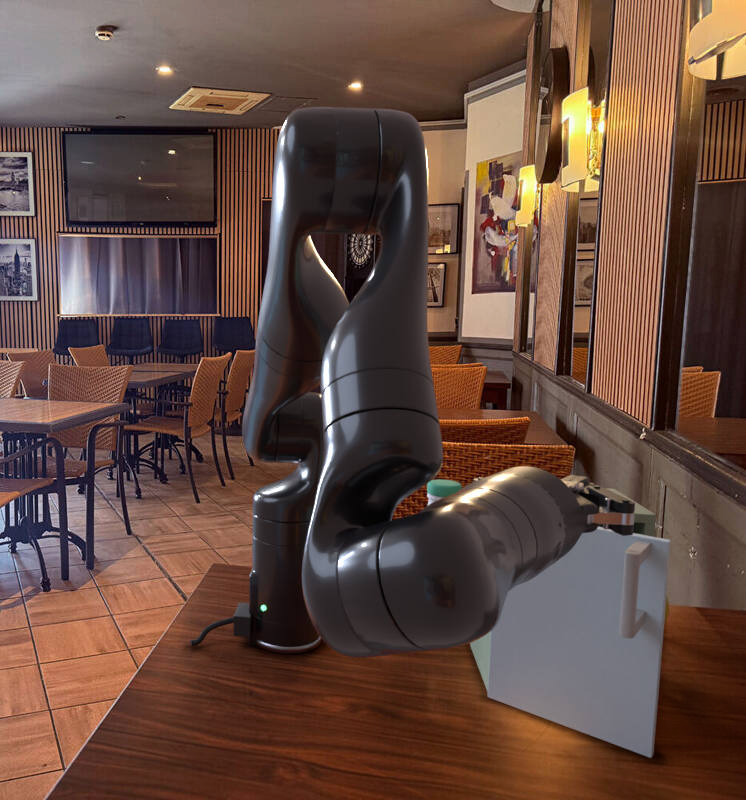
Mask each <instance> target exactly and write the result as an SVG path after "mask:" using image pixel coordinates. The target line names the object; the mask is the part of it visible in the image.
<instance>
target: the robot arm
mask: <svg viewBox="0 0 746 800" xmlns="http://www.w3.org/2000/svg"><path fill="white" fill-rule="evenodd" d="M424 136H425V135H424V133H423V130H422V127H421V124H420V122H419V121H418V120H417V118H415V116H413V115H412V114H411V113H409V112H406V111H402V110H397V109H390V108H374V107H373V108H368V107H366V108H365V107H338V106H337V107H336V106H335V107H334V106H309V107H302V108H297V109H295V110H293V111H292V112H291V113H290V114H289V115H288V116H287V117H286V119H285V121H284V123H283V125H282V127H281V129H280V132H279V135H278V139H277V143H276V149H275V154H274V162H273V173H272V188H271V206H270V207H271V209H270V224H269V225H270V228H269V243H268V244H269V245H268V258H267V267H266V274H265V280H264V286H263V292H262V297H261V303H260V308H259V314H258V319H257V327H256V335H255V347H254V363H253V373H252V378H251V382H250V386H249V390H248V394H247V399H246V402H245V406H244V411H243V415H242V416H243V417H242V425H241V435H242V442H243V446H244V449H245V452H246V454H247V455H248V456H249V458H250V459H252V460H253V461H256V462H259V463H266V464H298V465H297V466H296V468H295V469H294V470H293V472H291V473H290V474H289V475H287V476H285V477H283V478H282V479H280V480H277V481H275V482H272V483H269V484H267V485H264V486H262V487H259V488H258V489H257V490H256V491H255V492H254V494H253V496H252V543H251V544H252V545H251V546H252V547H251V548H252V549H251V552H252V553H251V570H250V573H249V576H248V577H249V578H248V602H238V604H237V607H236V609H235V612H234V614H233V616H231V617H227V618H224V619H220V620H217V621H215V622H213V623H211V624H209V625H207V626H206V627H204V629H203V630H202V631H201V632H200V634H199V635H198V637H197V638H195V639H190V646H191V647H196V646H198V645H201V643H202V642H203V641H204V639H205V638H206V636H207V635H208V634H209V633H211V631H213V630H215V629H217V628H220V627H223V626H226V625H230V624H233V628H232V629H233V636H234V637H243V638H248V640H247V641H248V645H249V646H256V647H258V648H261V649H262V650H265V651H267V652H271V653H276V654H282V655H283V654H284V655H296V654H304V653H307V652H310V651H312V650H313V651H314V650H315V649H316V648H318V647H319V646H320V645H321V642H322V641H323V642H324V643H325V644H326V645H327V646H328V647H329V648H330V649H331V650H332V651H334V652H336V653H337V654H340V655H341V656H345V657H349V658H353V659H354V658H356V659H364V658H365V659H366V658H377V657H387V656H393V655H403V654H412V653H420V652H428V651H439V650H449V649H453V648H458V647H462V646H465V645H468V644H469V645H470V643H471V642H474V641H476V640H478V639H480V638H482V637H484V636H485V635H487V634H488V633H490V632H491V631H492V630H493V629H494V628H495V626H496V625H497V624H498V622H499V620H500V616H501V613H502V609H503V605H504V602H505V599H506V597H507V594H508V591H510V590H511V589H513V588H514V587H515V586H517V585H519V584H522V583H525V582H527V581H529V580H531V579H533V578H534V577H536V576H537V575H539V574H540V573H541V572H543V571H544V570H546V569H547V568H548V567H550V566H551V565H552V564H554V563H555V562H556V561H558V560H559V559H560V558H562V557H563V556H565V555H566V554H567V553H568V552H569V551H570V550H571V549H572V548H573V547H574V545H575V544H576V543H577V541H578V539H579V538H580V536H581V534H582V533H589V532H593V531H595V530H596V529H597V528H598V525H599V524H602V525H603V528H604V529H607V530H609V529H610V530H612V531H614V532H615V533H618V534H620V535H623V536H627V535H633V526H634V512H635V502H636V501H635V502H633V501H634V500H633V501H631V500H628V499H626V498H624V497H622V496H620V495H618V494H616V493H614V492H612V491H610V490H608V489H609V488H608V489H606V488H607V487H606V488H605V487H602V486H601V485H597V484H595V483H594V482H591V481H590V478H589V476H582V475H575V474H570V475H567V476H565V477H563V478H559V477H557V476H556V475H555V474H553V473H551V472H549V471H548V470H545V469H542V468H539V467H533V466H521V465H520V466H515V467H510V468H507V469H504V470H502V471H499V472H497V473H493V474H491V475H488V476H486V477H482V476H481V477H480V476H479V477H477V478H476V477H474V478H473V480H472V481H473V482H471V483H469V484H467V485H465V486H464V487H462V489H461V490H459V491H458V492H457V493H455V494H452V495H450V496H447V497H444V498H441V499H439V500H437V501H435V502H433V503H431V504H430V505H428V504H427V505H428V506H427V505H426V506H425V507H423V508H422V509H421V510H420V511H418V512H417V513H413V514H409V515H405V516H401V517H398V518H395V519H393V517H394V513H395V511H396V509H397V507H398V506H399V505H400V503H402V502H403V501H404V500H405V499H406V498H408V497H409V496H411V495H412V494H414V493H415V492H416V491H419V489H421V488H423V487H425V486H427V484H428V483H429V482H430V481H431V480H435V478H436V477H437V476H438V474H439V473H440V472H441V470H442V466H443V463H444V447H443V437H442V430H441V424H440V418H439V412H438V404H437V397H436V390H435V385H434V377H433V372H432V371H433V370H432V365H431V355H430V344H429V330H428V329H429V327H428V293H429V292H428V291H429V290H428V288H429V287H428V285H429V284H428V283H429V168H428V155H427V154H428V153H427V145H426V140H425V137H424ZM316 234H319V235H320V234H321V235H322V234H323V235H324V234H327V235H357V236H359V235H361V236H373V235H377V236H379V237H380V244H379V245H380V247H379V252H378V256H377V259H376V261H375V263H374V265H373V267H372V269H371V271H370V273H369V274H368V276H367V278H366V280H365V281H364V282H363V284H362V286H361V287H360V288H359V290H358V292H357V293H356V295H355V296H354V298H353V299H352V300H351V302H349V300H348V298H347V295H346V293H345V291H344V289H343V287H342V286H341V284H340V283H339V282H338V280H337V279H336V277H335V276H334V274H333V272H331V270H330V269H329V268H328V266H327V265H326V264H325V262H324V261H323V260H322V258H321V257H320V255H319V253H318V252H317V250H316V247H315V245H314V243H313V240H312V237H311V235H316ZM319 386H320V393H318V392H315V391H313V390H314V389H316V388H317V387H319Z"/></svg>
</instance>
